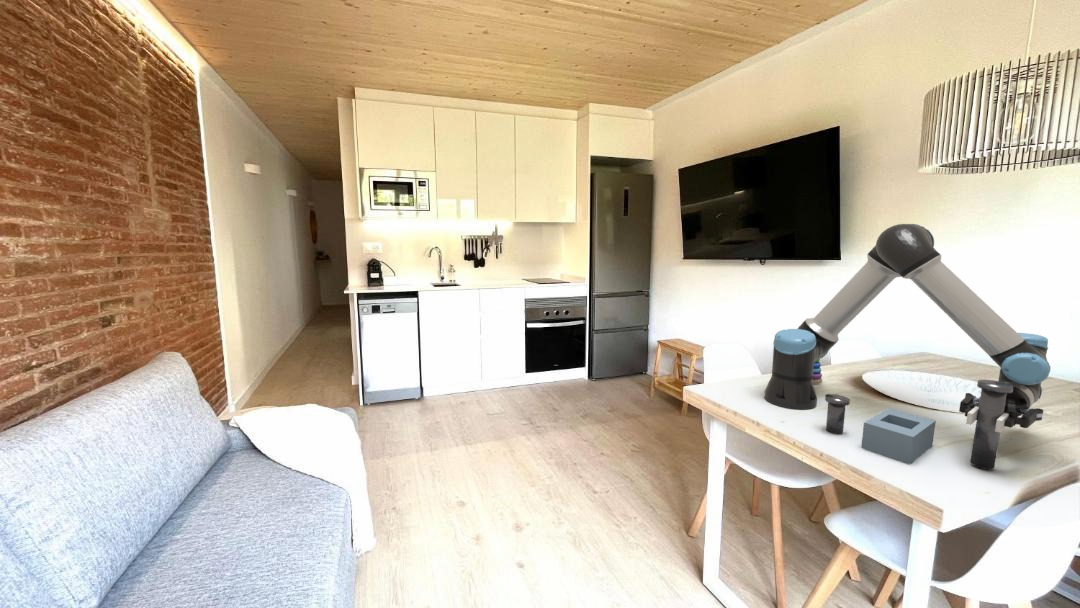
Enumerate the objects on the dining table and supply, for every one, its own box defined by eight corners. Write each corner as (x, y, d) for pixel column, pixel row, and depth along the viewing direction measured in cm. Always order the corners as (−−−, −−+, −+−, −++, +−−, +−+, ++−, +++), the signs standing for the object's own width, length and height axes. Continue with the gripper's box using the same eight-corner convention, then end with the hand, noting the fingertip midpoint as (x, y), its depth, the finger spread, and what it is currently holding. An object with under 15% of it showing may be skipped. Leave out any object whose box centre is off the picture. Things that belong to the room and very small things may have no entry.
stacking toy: (812, 377, 166) (816, 330, 163) (826, 384, 158) (831, 335, 155) (792, 378, 166) (796, 330, 163) (805, 385, 158) (810, 335, 155)
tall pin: (959, 457, 105) (971, 379, 101) (986, 459, 103) (999, 380, 100) (977, 469, 99) (990, 387, 96) (1006, 472, 98) (1020, 388, 95)
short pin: (819, 426, 124) (821, 393, 123) (840, 427, 123) (843, 394, 121) (827, 435, 119) (830, 400, 117) (850, 436, 118) (853, 402, 116)
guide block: (885, 431, 120) (888, 408, 119) (932, 445, 112) (935, 420, 111) (861, 447, 111) (863, 422, 110) (909, 464, 103) (913, 437, 102)
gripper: (1057, 425, 103) (1037, 453, 90) (961, 403, 117) (931, 424, 104) (1063, 395, 101) (1043, 419, 89) (965, 376, 116) (936, 395, 103)
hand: (983, 422), depth 96 cm, fingers closed on tall pin, 4 cm apart
